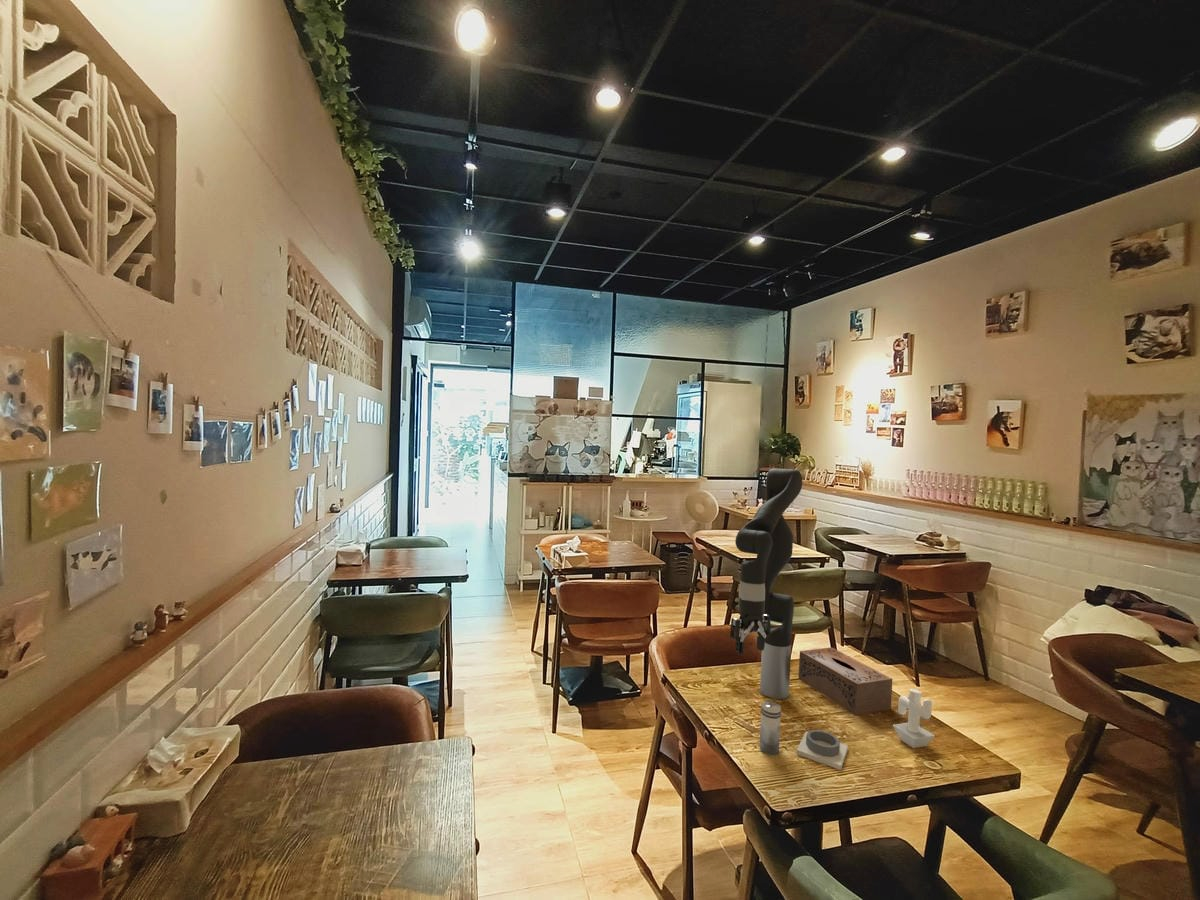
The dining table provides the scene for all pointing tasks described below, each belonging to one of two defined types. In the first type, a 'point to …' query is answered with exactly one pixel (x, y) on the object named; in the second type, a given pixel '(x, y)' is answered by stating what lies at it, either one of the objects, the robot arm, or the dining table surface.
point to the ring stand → (823, 748)
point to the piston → (770, 727)
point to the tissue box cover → (845, 680)
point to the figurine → (914, 719)
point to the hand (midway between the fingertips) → (749, 651)
